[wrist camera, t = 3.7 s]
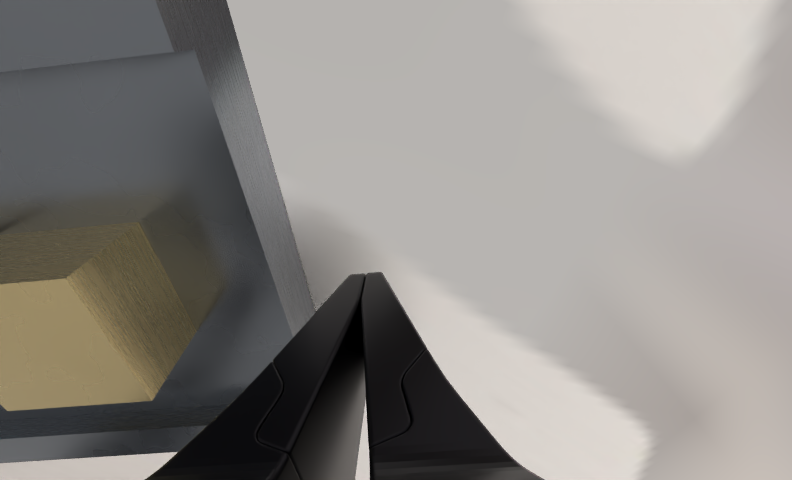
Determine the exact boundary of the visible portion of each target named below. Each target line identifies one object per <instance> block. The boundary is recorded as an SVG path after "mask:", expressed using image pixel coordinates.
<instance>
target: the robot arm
mask: <svg viewBox="0 0 792 480" xmlns="http://www.w3.org/2000/svg"><path fill="white" fill-rule="evenodd" d="M365 399H366V407H367V424H368V441H369V450H370V451H369V458H370V480H544V479H542V478H541V477H539V476H537V475H536V474H534V473H532V472H531V471H529V470H527V469H526V468H524V467H523V466H522V465H520V464H519V463H518V462H517V461H515V460H514V459H513V458H512V457H511V456H510V455H509V454H508V453H507V452H506V451H505V450H504V449H503V448H502V446H501V445H500V444H499V443H498V442H497V441H496V439H495V438H494V437H493V436H492V435H491V433H490V432H489V431H488V430H487V429H486V427H485V426H484V425H483V424H482V422H481V421H480V420H479V419H478V418H477V416H476V415H475V414H474V413H473V412H472V410H471V409H470V408H469V407H468V405H467V404H466V403H465V402H464V401H463V399H462V398H461V397H460V396H459V394H458V393H457V392H456V390H455V389H454V388H453V387H452V385H451V384H450V383H449V381H448V380H447V379H446V377H445V376H444V374H443V373H442V371H441V370H440V368H439V367H438V365H437V364H436V362H435V360H434V359H433V357H432V355H431V354H430V352H429V351H428V350H427V347H426V346H425V344H424V342H423V341H422V339H421V337H420V335H419V334H418V332H417V330H416V329H415V327H414V325H413V324H412V322H411V320H410V319H409V317H408V315H407V314H406V312H405V310H404V309H403V307H402V305H401V304H400V302H399V300H398V298H397V297H396V295H395V293H394V292H393V290H392V288H391V287H390V285H389V283H388V282H387V280H386V278H385V277H384V275H383V273H381V272H376V273H368V274H366V275H365V274H352V275H350V276H348V277H347V279H346V280H345V281H344V282H343V283H342V284H341V285H340V286H339V287H338V288H337V290H336V291H335V292H334V293H333V294H332V295H331V296H330V297H329V298H328V299H327V301H326V302H325V303H324V304H323V305H322V306H321V307H320V308H319V309H318V311H317V312H316V313H315V314H314V315H313V316H312V317H311V318H310V319H309V320H308V322H307V323H306V324H305V325H304V326H303V327H302V328H301V329H300V330H299V331H298V333H297V334H296V335H295V336H294V337H293V338H292V339H291V340H290V341H289V342H288V344H287V345H286V346H285V347H284V348H283V349H282V350H281V351H280V352H279V353H278V355H277V356H276V357H275V358H274V359H273V362H270V363H269V364H268V365H267V367H266V368H265V369H264V370H263V371H262V372H261V373H260V374H259V375H258V376H257V377H256V378H255V379H254V380H253V382H252V383H251V384H250V385H249V386H248V387H247V388H246V389H245V390H244V391H243V392H242V393H241V394H240V395H239V396H238V397H237V398H236V399H235V400H234V401H233V402H232V403H231V404H229V405H228V406H227V407H226V408H225V409H224V410H223V411H222V412H221V413H220V414H219V415H218V416H217V417H216V418H215V419H214V420H212V421H211V422H210V423H209V424H208V425H207V426H206V427H205V428H204V429H203V430H202V431H201V432H199V433H198V434H197V435H196V436H195V437H194V438H193V439H192V440H191V441H190V442H189V443H188V444H187V445H185V446H184V447H183V448H182V449H181V450H180V451H179V452H178V453H177V454H176V455H175V456H174V457H172V458H171V459H170V460H169V461H168V462H167V463H166V464H165V465H163V466H162V467H161V468H160V469H159V470H157V471H156V472H155V473H153V474H152V475H151V476H150V477H148V478H147V479H145V480H355V474H356V467H357V459H358V452H359V444H360V436H361V429H362V421H363V414H364V406H365Z"/></svg>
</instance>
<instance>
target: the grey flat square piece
mask: <svg viewBox="0 0 792 480" xmlns="http://www.w3.org/2000/svg"><path fill="white" fill-rule="evenodd" d="M129 222H140V224H141V226H142V228H143V230H144V232H145V234H146V236H147V237H148V239H149V241H150V243H151V245H152V247H153V249H154V251H155V253H156V255H157V256H158V258H159V260H160V262H161V264H162V266H163V268H164V270H165V272H166V274H167V275H168V277H169V279H170V281H171V283H172V285H173V287H174V289H175V291H176V292H177V294H178V296H179V298H180V300H181V302H182V304H183V306H184V308H185V310H186V311H187V313H188V315H189V317H190V319H191V321H192V323H193V325H194V327H195V329H196V330H197V332H196V333H195V335H194V336H193V338H192V340H191V341H190V343H189V344H188V346H187V347H186V349H185V350H184V352H183V353H182V355H181V357H180V358H179V360H178V361H177V363H176V364H175V366H174V367H173V369H172V371H171V372H170V374H169V375H168V377H167V378H166V380H165V381H164V383H163V385H162V386H161V388H160V389H159V391H158V392H157V394H156V395H155V397H154V399H153V400H152V401H143V402H129V403H115V404H101V405H87V406H72V407H58V408H44V409H30V410H16V411H7V410H6V409H5V408H4V407H3V406H2V405H0V463H10V462H25V461H41V460H56V459H72V458H88V457H103V456H119V455H134V454H150V453H166V452H179V451H180V450H181V449H182V448H183V447H184V446H185V445H187V444H188V443H189V442H190V441H191V440H192V439H193V438H194V437H195V436H196V435H197V434H198V433H199V432H201V431H202V430H203V429H204V428H205V427H206V426H207V425H208V424H209V423H210V422H211V421H212V420H214V419H215V418H216V417H217V416H218V415H219V414H220V413H221V412H222V411H223V410H224V409H225V408H226V407H227V406H228V405H229V404H231V403H232V402H233V401H234V400H235V399H236V398H237V397H238V396H239V395H240V394H241V393H242V392H243V391H244V390H245V389H246V388H247V387H248V386H249V385H250V384H251V383H252V382H253V380H254V379H255V378H256V377H257V376H258V375H259V374H260V373H261V372H262V371H263V370H264V369H265V368H266V367H267V365H268V364H269V363H270V362H273V359H274V358H275V357H276V356H277V355H278V353H279V352H280V351H281V350H282V349H283V348H284V347H285V346H286V345H287V344H288V342H289V341H290V340H291V339H292V338H293V337H294V336H295V335H296V334H297V333H298V331H299V330H300V329H301V328H302V327H303V326H304V325H305V324H306V323H307V322H308V320H309V319H310V318H311V317H312V316H313V315H314V314H315V310H314V306H313V303H312V299H311V296H310V292H309V289H308V285H307V282H306V278H305V275H304V271H303V268H302V264H301V261H300V257H299V254H298V250H297V247H296V243H295V240H294V236H293V233H292V229H291V226H290V222H289V219H288V215H287V212H286V208H285V204H284V201H283V197H282V194H281V190H280V187H279V183H278V180H277V176H276V173H275V169H274V166H273V162H272V159H271V155H270V152H269V148H268V145H267V142H266V138H265V135H264V131H263V127H262V124H261V120H260V117H259V113H258V110H257V106H256V103H255V100H254V96H253V92H252V89H251V85H250V82H249V78H248V75H247V71H246V68H245V64H244V61H243V57H242V54H241V50H240V47H239V43H238V40H237V36H236V32H235V29H234V25H233V22H232V18H231V15H230V11H229V8H228V5H227V1H226V0H0V235H3V234H13V233H24V232H34V231H45V230H55V229H66V228H77V227H87V226H98V225H108V224H119V223H129Z"/></svg>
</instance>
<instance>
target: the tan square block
mask: <svg viewBox="0 0 792 480" xmlns="http://www.w3.org/2000/svg"><path fill="white" fill-rule="evenodd" d="M196 332H197V330H196V329H195V327H194V325H193V323H192V321H191V319H190V317H189V315H188V313H187V311H186V310H185V308H184V306H183V304H182V302H181V300H180V298H179V296H178V294H177V292H176V291H175V289H174V287H173V285H172V283H171V281H170V279H169V277H168V275H167V274H166V272H165V270H164V268H163V266H162V264H161V262H160V260H159V258H158V256H157V255H156V253H155V251H154V249H153V247H152V245H151V243H150V241H149V239H148V237H147V236H146V234H145V232H144V230H143V228H142V226H141V224H140V222H129V223H119V224H108V225H98V226H87V227H77V228H66V229H55V230H45V231H34V232H24V233H13V234H3V235H0V405H2V406H3V407H4V408H5V409H6V410H7V411H16V410H30V409H44V408H58V407H72V406H87V405H101V404H115V403H129V402H143V401H152V400H153V399H154V397H155V395H156V394H157V392H158V391H159V389H160V388H161V386H162V385H163V383H164V381H165V380H166V378H167V377H168V375H169V374H170V372H171V371H172V369H173V367H174V366H175V364H176V363H177V361H178V360H179V358H180V357H181V355H182V353H183V352H184V350H185V349H186V347H187V346H188V344H189V343H190V341H191V340H192V338H193V336H194V335H195V333H196Z"/></svg>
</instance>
